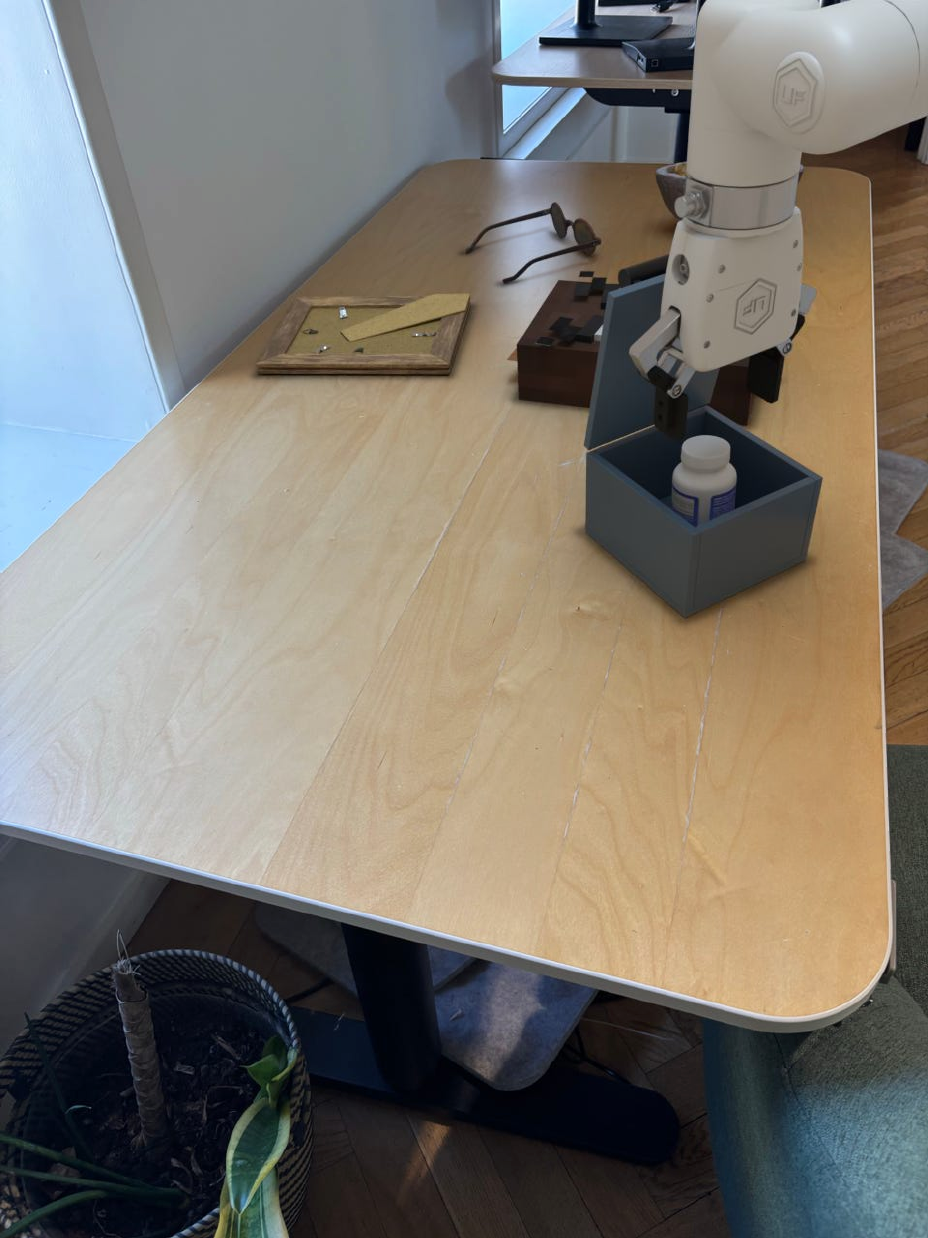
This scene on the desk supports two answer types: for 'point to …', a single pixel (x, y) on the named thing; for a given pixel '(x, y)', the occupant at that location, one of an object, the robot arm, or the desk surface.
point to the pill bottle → (703, 480)
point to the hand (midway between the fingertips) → (716, 414)
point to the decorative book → (594, 352)
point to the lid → (617, 385)
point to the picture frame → (368, 335)
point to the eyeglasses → (579, 226)
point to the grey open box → (716, 550)
